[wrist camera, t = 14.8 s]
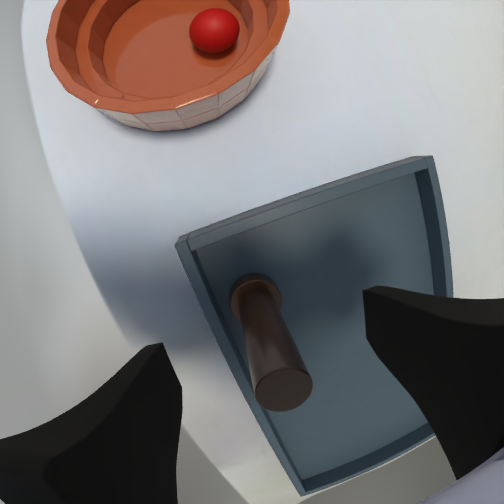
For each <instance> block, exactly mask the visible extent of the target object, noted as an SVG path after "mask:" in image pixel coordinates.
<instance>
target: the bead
mask: <svg viewBox="0 0 504 504" xmlns="http://www.w3.org/2000/svg"><path fill="white" fill-rule="evenodd" d="M239 32H240V26H239V23H238V20H237V18H236V17H235V16H234V15H233V14H232V13H230V12H229V11H227V10H225V9H221V8H210V9H206V10H204V11H202V12H200V13H199V14H197V15H196V16H195V17H194V18H193V20H192V22H191V24H190V27H189V36H190V39H191V41H192V42H193V44H194V45H195V46H196V47H197V48H199V49H201V50H203V51H206V52H213V53H214V52H221V51H224V50H226V49H228V48H229V47H231V46H232V45H233V44H234V43H235V42H236V40H237V39H238V36H239Z"/></svg>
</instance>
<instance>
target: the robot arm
mask: <svg viewBox="0 0 504 504" xmlns="http://www.w3.org/2000/svg"><path fill="white" fill-rule="evenodd" d="M362 293H363V304H364V315H365V329H366V339H367V340H368V342H369V344H370V345H371V347H372V349H373V350H374V352H375V353H376V355H377V357H378V358H379V359H380V360H381V362H382V363H383V364H384V365H385V366H386V368H387V369H388V370H389V371H390V372H391V373H392V374H393V376H394V377H395V378H396V379H397V380H398V381H399V383H400V384H401V385H402V386H403V387H404V388H405V390H406V391H407V392H408V393H409V394H410V395H411V397H412V398H413V399H414V401H415V402H416V403H417V405H418V407H419V408H420V410H421V411H422V413H423V414H424V416H425V418H426V419H427V421H428V423H429V424H430V426H431V428H432V430H433V431H434V433H435V435H436V437H437V438H438V440H439V442H440V444H441V446H442V448H443V450H444V452H445V454H446V456H447V458H448V460H449V463H450V465H451V467H452V470H453V472H454V475H455V477H456V479H457V481H456V482H454V483H452V484H451V485H449V486H448V487H446V488H444V489H443V490H441V491H439V492H437V493H436V494H434V495H432V496H430V497H428V498H427V499H425V500H423V501H421V502H419V503H417V504H504V298H500V299H460V298H449V297H442V296H435V295H429V294H424V293H419V292H414V291H409V290H404V289H399V288H394V287H388V286H379V285H377V286H374V287H371V288H368V289H364V290H362ZM181 419H182V387H181V384H180V382H179V380H178V378H177V375H176V373H175V371H174V369H173V366H172V364H171V362H170V359H169V357H168V355H167V352H166V350H165V347H164V345H163V342H162V343H157V344H152V345H147V346H145V347H144V348H143V349H141V350H140V351H139V352H138V353H137V354H136V355H135V356H134V357H133V358H132V359H131V360H129V362H127V363H126V364H125V365H124V366H123V367H122V368H121V369H120V370H119V371H118V372H117V373H116V374H115V375H114V376H113V377H111V378H110V379H109V380H108V381H107V382H106V383H105V384H103V385H102V386H101V387H100V388H99V389H98V390H97V391H95V392H94V393H93V394H91V395H90V396H89V397H88V398H86V399H85V400H83V401H82V402H81V403H79V404H78V405H76V406H75V407H73V408H72V409H70V410H68V411H66V412H65V413H63V414H61V415H59V416H58V417H56V418H54V419H53V420H51V421H49V422H47V423H44V424H43V425H40V426H38V427H36V428H33V429H31V430H28V431H26V432H23V433H20V434H17V435H14V436H11V437H7V438H3V439H0V499H1V500H2V501H3V502H4V503H5V504H178V502H177V501H178V500H177V484H176V460H177V452H178V442H179V435H180V427H181Z"/></svg>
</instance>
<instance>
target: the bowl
mask: <svg viewBox="0 0 504 504" xmlns="http://www.w3.org/2000/svg"><path fill="white" fill-rule="evenodd" d="M210 8H221V9H225V10H227V11H229V12H230V13H232V14H233V15H234V16H235V17H236V18H237V20H238V23H239V26H240V32H239V36H238V39H237V40H236V42H235V43H234V44H233V45H232V46H231V47H229V48H228V49H226V50H224V51H221V52H214V53H213V52H206V51H203V50H201V49H199V48H197V47H196V46H195V45H194V44H193V42H192V41H191V39H190V36H189V27H190V24H191V22H192V20H193V18H194V17H195V16H196V15H197V14H199V13H200V12H202V11H204V10H206V9H210ZM289 12H290V7H289V0H59V1H58V3H57V5H56V6H55V8H54V10H53V12H52V16H51V20H50V24H49V29H48V33H47V38H46V43H47V50H48V56H49V62H50V67H51V69H52V71H53V72H54V74H55V75H56V77H57V78H58V80H59V81H60V83H61V84H62V85H63V87H64V88H65V90H66V91H67V92H68V93H70V94H72V95H74V96H75V97H77V98H79V99H80V100H82V101H84V102H85V103H87V104H89V105H91V106H92V107H94V108H96V109H98V110H99V111H101V112H103V113H105V114H107V115H109V116H110V117H112V118H114V119H116V120H118V121H119V122H121V123H123V124H125V125H127V126H132V127H137V128H142V129H146V130H151V131H164V130H177V129H186V128H191V127H193V126H196V125H199V124H202V123H204V122H207V121H210V120H213V119H216V118H218V117H220V116H221V115H223V114H224V113H225V112H227V111H228V110H230V109H231V108H233V107H234V106H235V105H237V104H238V103H240V102H241V101H243V100H244V99H245V98H246V97H247V96H248V94H249V93H250V92H251V90H252V89H253V88H254V87H255V85H256V84H257V83H258V82H259V80H260V79H261V78H262V76H263V75H264V72H265V70H266V68H267V66H268V64H269V62H270V60H271V58H272V56H273V54H274V52H275V50H276V48H277V46H278V44H279V42H280V39H281V36H282V33H283V31H284V28H285V25H286V22H287V19H288V17H289V14H290V13H289Z"/></svg>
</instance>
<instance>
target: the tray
mask: <svg viewBox="0 0 504 504" xmlns="http://www.w3.org/2000/svg"><path fill="white" fill-rule="evenodd" d="M175 247H176V250H177V252H178V255H179V257H180V260H181V262H182V264H183V267H184V269H185V271H186V274H187V276H188V278H189V281H190V283H191V285H192V288H193V290H194V292H195V295H196V297H197V299H198V301H199V304H200V306H201V308H202V310H203V312H204V315H205V317H206V319H207V321H208V323H209V326H210V328H211V330H212V332H213V334H214V336H215V338H216V340H217V343H218V345H219V347H220V349H221V351H222V353H223V355H224V357H225V359H226V361H227V363H228V365H229V367H230V369H231V371H232V373H233V375H234V377H235V379H236V381H237V383H238V385H239V387H240V389H241V391H242V393H243V395H244V397H245V399H246V401H247V403H248V405H249V407H250V409H251V410H252V412H253V414H254V416H255V418H256V420H257V422H258V423H259V425H260V427H261V429H262V431H263V433H264V434H265V436H266V438H267V440H268V442H269V444H270V445H271V447H272V449H273V451H274V452H275V454H276V456H277V458H278V459H279V461H280V463H281V465H282V466H283V468H284V470H285V471H286V473H287V475H288V476H289V478H290V480H291V481H292V483H293V485H294V486H295V488H296V490H297V491H298V493H299V495H300V496H305V495H307V494H311V493H314V492H317V491H320V490H322V489H325V488H328V487H331V486H333V485H336V484H339V483H341V482H344V481H346V480H349V479H351V478H353V477H356V476H358V475H361V474H363V473H365V472H367V471H369V470H372V469H374V468H376V467H378V466H380V465H382V464H384V463H386V462H388V461H390V460H392V459H394V458H396V457H398V456H400V455H402V454H404V453H406V452H408V451H409V450H411V449H413V448H415V447H416V446H418V445H420V444H422V443H423V442H425V441H427V440H428V439H430V438H432V437H433V436H435V433H434V431H433V430H432V428H431V426H430V424H429V423H428V421H427V419H426V418H425V416H424V414H423V413H422V411H421V410H420V408H419V407H418V405H417V403H416V402H415V401H414V399H413V398H412V397H411V395H410V394H409V393H408V392H407V391H406V390H405V388H404V387H403V386H402V385H401V384H400V383H399V381H398V380H397V379H396V378H395V377H394V376H393V374H392V373H391V372H390V371H389V370H388V369H387V368H386V366H385V365H384V364H383V363H382V362H381V360H380V359H379V358H378V357H377V355H376V353H375V352H374V350H373V349H372V347H371V345H370V344H369V342H368V340H367V339H366V329H365V315H364V304H363V293H362V290H364V289H368V288H371V287H374V286H377V285H379V286H388V287H394V288H399V289H404V290H409V291H414V292H419V293H424V294H429V295H435V296H442V297H449V298H453V280H452V267H451V256H450V247H449V239H448V231H447V224H446V218H445V212H444V206H443V200H442V195H441V190H440V185H439V180H438V175H437V171H436V167H435V162H434V158H433V156H413V157H409V158H406V159H403V160H399V161H396V162H393V163H390V164H386V165H383V166H380V167H377V168H374V169H370V170H367V171H364V172H361V173H358V174H355V175H352V176H348V177H345V178H342V179H339V180H336V181H333V182H330V183H327V184H324V185H321V186H318V187H315V188H312V189H309V190H306V191H303V192H300V193H298V194H295V195H292V196H289V197H286V198H283V199H280V200H277V201H275V202H272V203H269V204H266V205H263V206H260V207H258V208H255V209H252V210H249V211H247V212H244V213H241V214H238V215H236V216H233V217H230V218H227V219H225V220H222V221H219V222H217V223H214V224H211V225H209V226H206V227H203V228H201V229H198V230H195V231H193V232H190V233H188V234H185V235H182V236H180V237H179V239H178V240H177V242H176V244H175ZM249 273H261V274H264V275H266V276H268V277H270V278H271V279H272V280H273V281H274V282H275V284H276V286H277V288H278V289H279V291H280V293H281V296H282V308H281V311H280V312H281V314H282V316H283V319H284V321H285V323H286V325H287V327H288V329H289V331H290V333H291V336H292V338H293V340H294V342H295V344H296V346H297V348H298V350H299V352H300V355H301V357H302V359H303V361H304V363H305V365H306V367H307V369H308V371H309V374H310V376H311V378H312V380H313V389H312V393H311V395H310V396H309V398H308V399H307V400H306V401H305V402H304V403H303V404H302V405H300V406H299V407H297V408H295V409H292V410H289V411H285V412H273V411H269V410H266V409H264V408H263V407H261V406H260V405H259V404H258V402H257V401H256V399H255V395H254V390H253V385H252V380H251V374H250V369H249V364H248V358H247V353H246V347H245V342H244V336H243V331H242V325H241V323H239V322H238V321H237V320H236V319H235V318H234V316H233V315H232V312H231V309H230V301H229V293H230V289H231V287H232V285H233V284H234V282H235V281H236V280H237V279H238V278H240V277H241V276H243V275H245V274H249Z"/></svg>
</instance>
